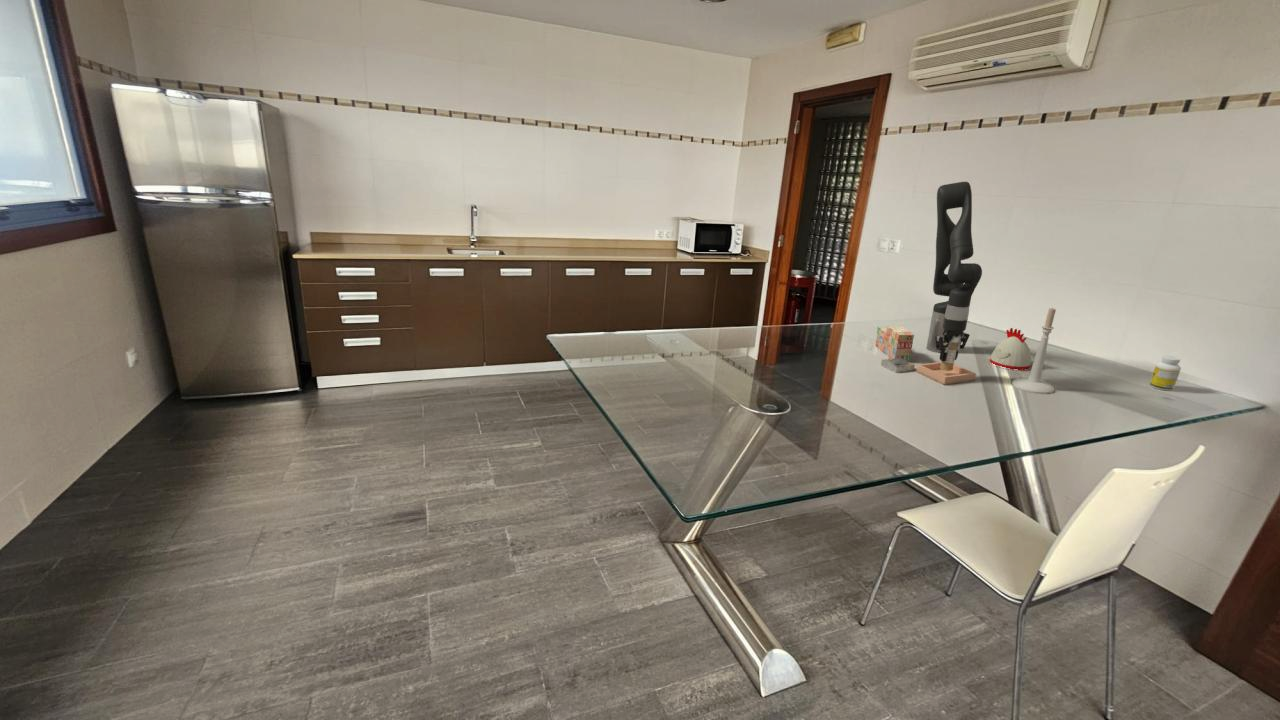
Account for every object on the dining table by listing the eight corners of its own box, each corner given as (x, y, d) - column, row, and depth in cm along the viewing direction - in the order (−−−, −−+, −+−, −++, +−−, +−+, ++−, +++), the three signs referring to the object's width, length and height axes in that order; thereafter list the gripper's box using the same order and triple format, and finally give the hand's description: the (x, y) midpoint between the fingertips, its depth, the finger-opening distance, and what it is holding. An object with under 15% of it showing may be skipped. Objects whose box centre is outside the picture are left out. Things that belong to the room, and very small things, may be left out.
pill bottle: (1159, 383, 198) (1169, 354, 194) (1178, 390, 192) (1189, 360, 188) (1144, 385, 197) (1154, 355, 193) (1163, 391, 191) (1173, 361, 187)
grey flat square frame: (898, 363, 221) (899, 357, 220) (913, 370, 213) (914, 364, 213) (880, 365, 219) (881, 359, 218) (895, 372, 211) (896, 366, 210)
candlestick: (1063, 392, 191) (1085, 311, 181) (1031, 395, 189) (1052, 313, 179) (1033, 379, 203) (1052, 302, 193) (1003, 381, 201) (1021, 304, 191)
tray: (945, 368, 215) (946, 361, 214) (974, 380, 203) (976, 373, 202) (916, 372, 212) (917, 364, 211) (944, 384, 199) (945, 377, 198)
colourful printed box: (874, 346, 243) (878, 320, 239) (888, 346, 243) (892, 320, 238) (894, 362, 223) (899, 334, 219) (909, 362, 223) (914, 334, 218)
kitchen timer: (1006, 357, 227) (1014, 323, 222) (1038, 368, 214) (1047, 332, 209) (981, 361, 223) (989, 326, 218) (1012, 372, 210) (1021, 336, 205)
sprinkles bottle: (944, 366, 209) (951, 333, 205) (955, 370, 205) (962, 336, 201) (936, 368, 207) (943, 335, 203) (947, 372, 203) (954, 338, 199)
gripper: (963, 313, 204) (955, 355, 210) (932, 316, 201) (925, 358, 207) (980, 318, 197) (971, 361, 203) (948, 321, 194) (940, 365, 200)
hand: (947, 359), depth 205 cm, fingers closed on sprinkles bottle, 4 cm apart
